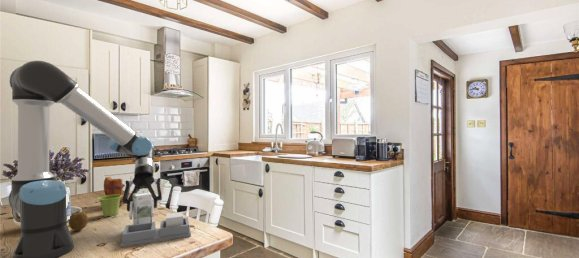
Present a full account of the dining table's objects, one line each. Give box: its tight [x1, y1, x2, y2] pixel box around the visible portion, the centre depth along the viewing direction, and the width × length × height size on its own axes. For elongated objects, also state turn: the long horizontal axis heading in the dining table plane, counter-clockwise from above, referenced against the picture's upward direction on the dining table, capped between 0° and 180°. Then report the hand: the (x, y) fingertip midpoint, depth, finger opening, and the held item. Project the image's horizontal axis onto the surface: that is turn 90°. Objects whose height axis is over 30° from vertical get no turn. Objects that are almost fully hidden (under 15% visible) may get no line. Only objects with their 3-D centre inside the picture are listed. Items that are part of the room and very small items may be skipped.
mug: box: [103, 176, 126, 207], centre depth 154 cm, size 15×8×15 cm, turn 58°
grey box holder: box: [119, 211, 192, 248], centre depth 108 cm, size 23×11×7 cm, turn 112°
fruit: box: [68, 210, 89, 232], centre depth 116 cm, size 6×6×8 cm
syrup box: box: [132, 191, 153, 225], centre depth 117 cm, size 6×6×14 cm
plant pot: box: [97, 195, 122, 218], centre depth 137 cm, size 9×9×9 cm
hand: (141, 216), depth 114 cm, fingers closed on syrup box, 7 cm apart
